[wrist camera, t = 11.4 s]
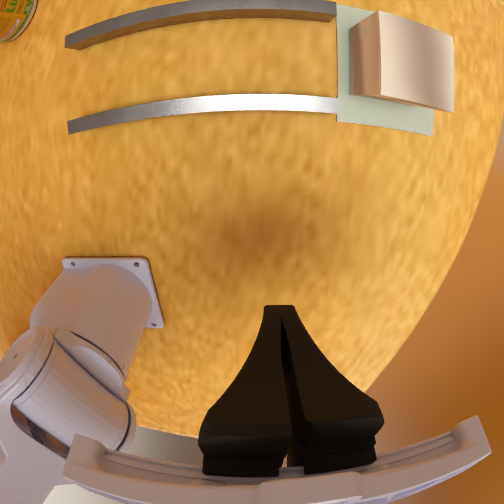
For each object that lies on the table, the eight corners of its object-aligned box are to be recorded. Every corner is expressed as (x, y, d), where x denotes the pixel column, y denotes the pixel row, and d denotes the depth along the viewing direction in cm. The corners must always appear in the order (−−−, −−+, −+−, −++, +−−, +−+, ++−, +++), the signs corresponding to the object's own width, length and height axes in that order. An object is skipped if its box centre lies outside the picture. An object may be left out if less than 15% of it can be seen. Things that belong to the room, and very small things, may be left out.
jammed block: (349, 94, 16) (380, 94, 11) (349, 28, 13) (378, 10, 9) (412, 106, 16) (453, 113, 11) (412, 44, 13) (452, 36, 9)
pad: (336, 121, 17) (337, 121, 17) (334, 4, 12) (335, 4, 12) (430, 135, 17) (432, 136, 17) (431, 31, 12) (433, 30, 12)
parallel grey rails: (83, 130, 17) (68, 134, 15) (79, 38, 13) (65, 36, 11) (329, 112, 17) (337, 113, 15) (328, 10, 13) (336, 2, 11)
